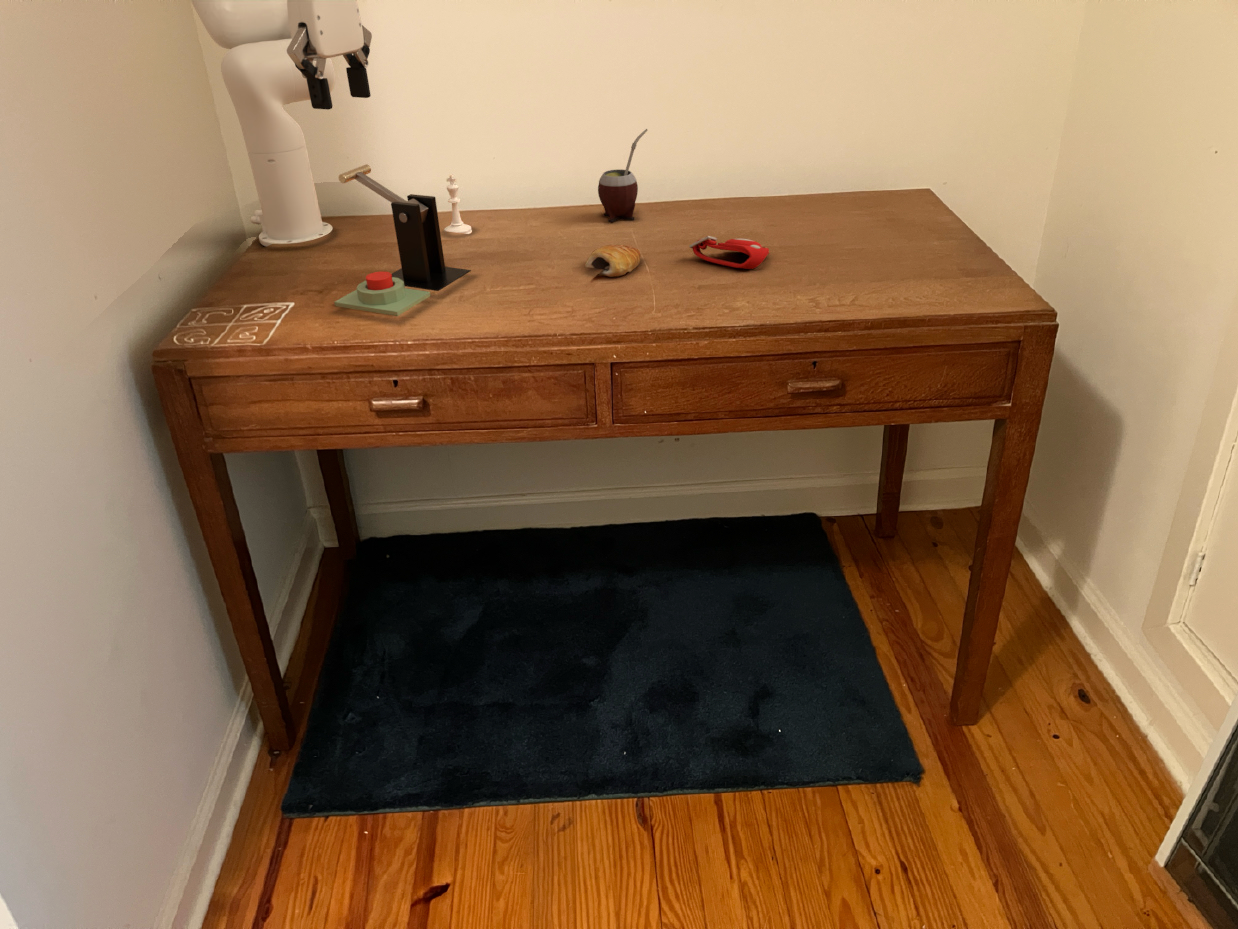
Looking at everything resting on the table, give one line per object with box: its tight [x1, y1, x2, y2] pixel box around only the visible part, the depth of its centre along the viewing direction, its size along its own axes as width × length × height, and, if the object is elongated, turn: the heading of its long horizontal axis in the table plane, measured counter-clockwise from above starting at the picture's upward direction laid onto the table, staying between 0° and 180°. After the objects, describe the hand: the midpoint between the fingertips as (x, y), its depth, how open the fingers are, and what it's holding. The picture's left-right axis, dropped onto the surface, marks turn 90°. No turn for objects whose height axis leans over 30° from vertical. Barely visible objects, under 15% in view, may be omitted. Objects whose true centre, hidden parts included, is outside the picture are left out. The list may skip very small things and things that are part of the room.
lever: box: [338, 163, 428, 223], centre depth 135 cm, size 13×6×2 cm, turn 66°
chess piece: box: [443, 174, 473, 235], centre depth 159 cm, size 5×5×10 cm
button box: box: [333, 277, 431, 317], centre depth 132 cm, size 11×8×4 cm
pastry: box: [584, 244, 641, 278], centre depth 142 cm, size 9×7×4 cm
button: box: [365, 271, 393, 290], centre depth 130 cm, size 4×4×2 cm
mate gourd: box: [597, 128, 648, 224], centre depth 162 cm, size 8×8×15 cm
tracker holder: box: [688, 235, 770, 270], centre depth 143 cm, size 12×4×10 cm
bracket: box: [390, 193, 472, 292], centre depth 137 cm, size 11×9×13 cm
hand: (342, 101), depth 130 cm, fingers open, 7 cm apart
